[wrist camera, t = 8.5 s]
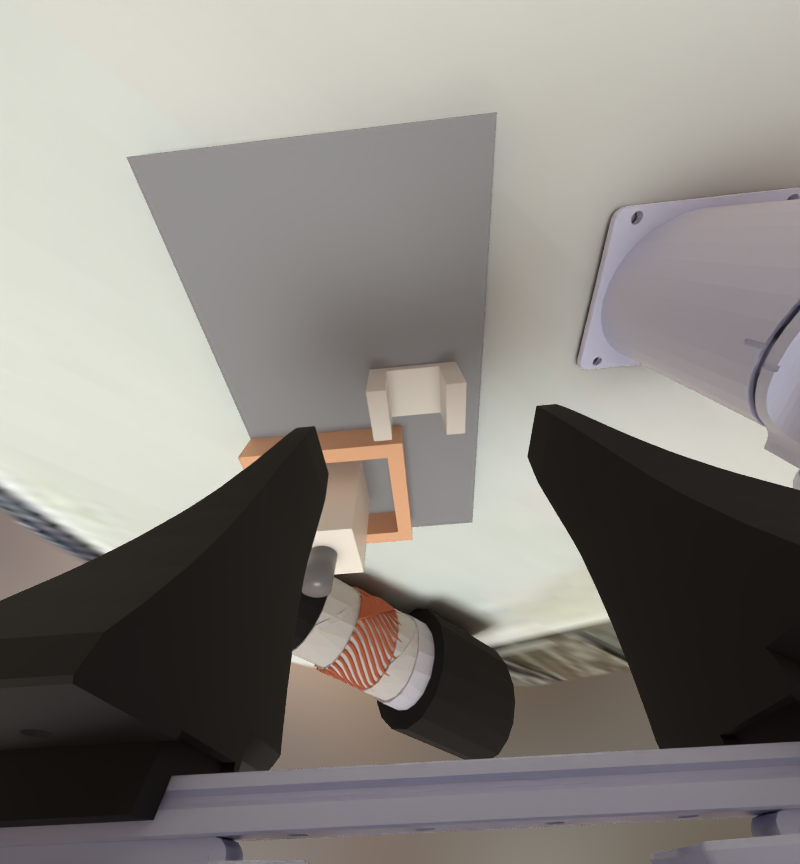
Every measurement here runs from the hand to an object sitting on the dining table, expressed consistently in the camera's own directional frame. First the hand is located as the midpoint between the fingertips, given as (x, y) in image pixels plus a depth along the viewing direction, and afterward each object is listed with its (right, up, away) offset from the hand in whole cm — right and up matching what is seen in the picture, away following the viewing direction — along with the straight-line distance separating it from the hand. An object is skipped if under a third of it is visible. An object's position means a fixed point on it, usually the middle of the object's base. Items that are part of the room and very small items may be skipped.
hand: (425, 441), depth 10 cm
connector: (-5, -3, +12) cm, 14 cm away
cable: (-5, -17, +22) cm, 28 cm away
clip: (0, +3, +9) cm, 10 cm away
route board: (-3, +3, +9) cm, 10 cm away
